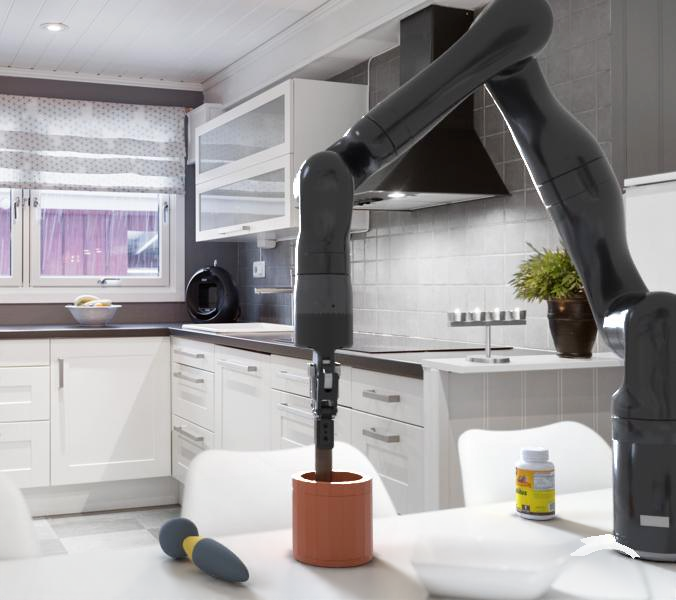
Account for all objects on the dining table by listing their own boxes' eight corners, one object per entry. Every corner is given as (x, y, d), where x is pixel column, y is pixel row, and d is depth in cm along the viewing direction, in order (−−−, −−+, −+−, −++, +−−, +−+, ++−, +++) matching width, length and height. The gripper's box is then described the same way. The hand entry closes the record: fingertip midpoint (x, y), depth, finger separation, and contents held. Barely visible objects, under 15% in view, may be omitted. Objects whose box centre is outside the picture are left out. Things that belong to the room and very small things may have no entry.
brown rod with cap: (340, 530, 107) (340, 406, 107) (345, 539, 102) (344, 409, 103) (303, 530, 107) (303, 406, 108) (306, 539, 102) (305, 409, 103)
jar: (366, 545, 109) (365, 469, 110) (378, 567, 99) (377, 483, 100) (290, 545, 110) (290, 469, 110) (295, 567, 100) (294, 483, 100)
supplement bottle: (511, 512, 128) (510, 446, 129) (548, 512, 128) (546, 446, 129) (522, 520, 123) (521, 451, 123) (560, 521, 123) (559, 451, 123)
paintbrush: (272, 582, 94) (272, 538, 94) (238, 591, 91) (238, 545, 91) (174, 546, 109) (174, 508, 109) (142, 553, 106) (142, 514, 106)
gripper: (360, 310, 98) (361, 456, 98) (346, 312, 112) (347, 440, 112) (297, 310, 99) (297, 456, 98) (291, 312, 113) (291, 440, 112)
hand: (323, 446), depth 105 cm, fingers closed on brown rod with cap
